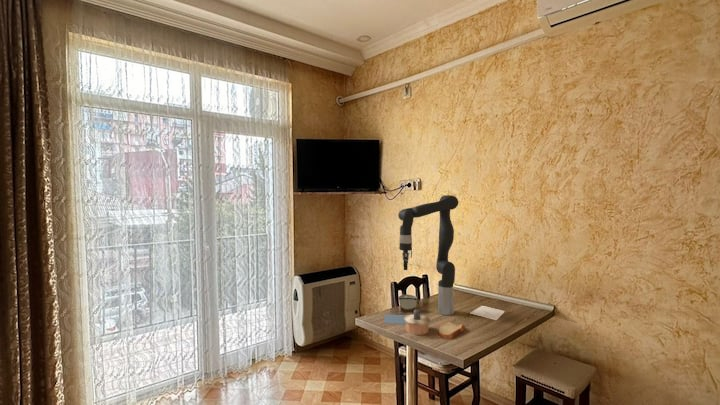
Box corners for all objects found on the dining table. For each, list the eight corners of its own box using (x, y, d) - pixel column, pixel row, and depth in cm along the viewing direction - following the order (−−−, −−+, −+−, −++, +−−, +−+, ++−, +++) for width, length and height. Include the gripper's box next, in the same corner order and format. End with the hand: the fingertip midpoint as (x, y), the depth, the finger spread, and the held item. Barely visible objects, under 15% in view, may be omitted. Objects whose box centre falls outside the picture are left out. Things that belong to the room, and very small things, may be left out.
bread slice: (442, 340, 168) (442, 333, 168) (430, 326, 186) (430, 320, 186) (475, 338, 171) (475, 331, 171) (460, 325, 189) (460, 319, 189)
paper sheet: (483, 305, 224) (483, 304, 224) (528, 318, 203) (528, 316, 203) (467, 313, 208) (467, 312, 208) (514, 328, 187) (514, 326, 187)
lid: (428, 316, 186) (428, 307, 186) (431, 325, 172) (431, 315, 172) (403, 315, 187) (403, 306, 187) (404, 324, 173) (404, 314, 173)
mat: (409, 316, 202) (409, 315, 202) (410, 325, 187) (410, 324, 187) (384, 315, 204) (384, 314, 204) (383, 324, 189) (383, 323, 189)
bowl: (427, 327, 185) (427, 316, 185) (429, 336, 173) (429, 324, 173) (405, 326, 186) (405, 315, 186) (406, 334, 174) (406, 323, 174)
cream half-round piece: (416, 309, 214) (417, 294, 214) (417, 313, 208) (417, 297, 208) (398, 309, 215) (398, 294, 215) (398, 312, 209) (398, 296, 209)
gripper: (412, 243, 192) (412, 271, 192) (411, 240, 206) (411, 266, 206) (399, 243, 193) (399, 270, 193) (399, 240, 207) (399, 266, 207)
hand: (405, 268), depth 200 cm, fingers open, 8 cm apart
